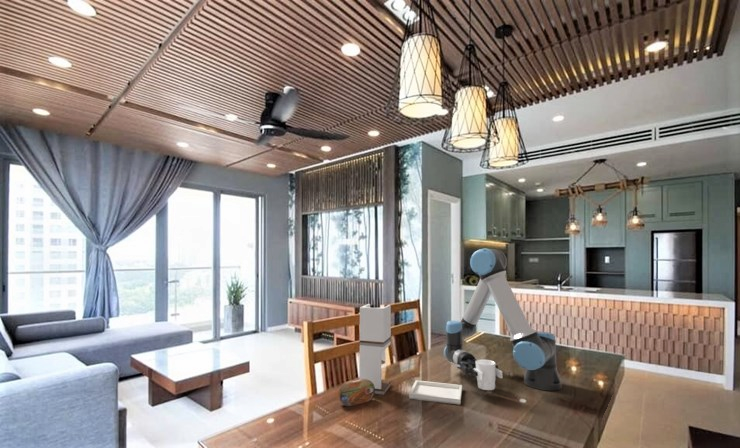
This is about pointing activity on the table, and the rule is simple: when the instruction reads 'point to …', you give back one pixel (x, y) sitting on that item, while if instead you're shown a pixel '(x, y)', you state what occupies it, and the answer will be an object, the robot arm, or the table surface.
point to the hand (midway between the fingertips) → (492, 375)
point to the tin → (356, 392)
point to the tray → (436, 392)
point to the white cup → (486, 374)
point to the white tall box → (374, 344)
